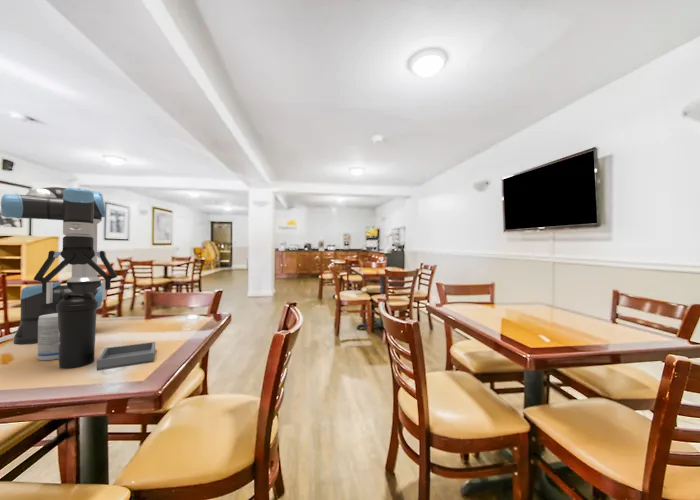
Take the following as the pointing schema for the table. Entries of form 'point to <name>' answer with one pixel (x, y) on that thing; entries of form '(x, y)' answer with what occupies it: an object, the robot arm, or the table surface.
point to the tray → (126, 355)
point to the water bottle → (76, 329)
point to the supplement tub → (48, 337)
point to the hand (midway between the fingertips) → (77, 301)
